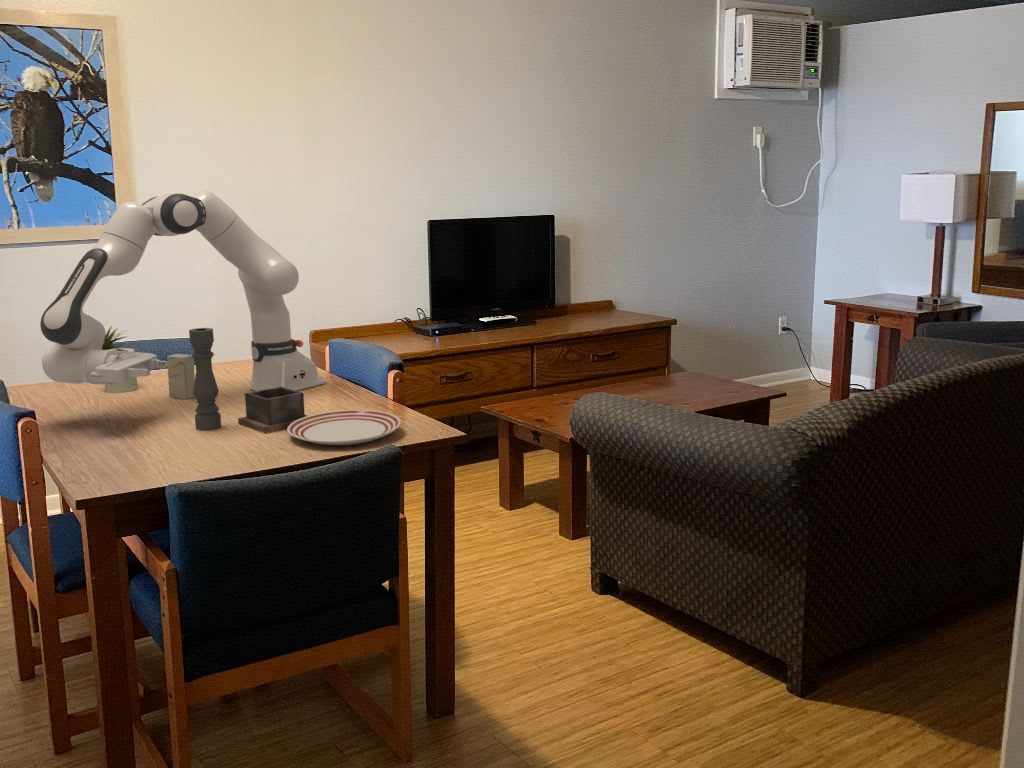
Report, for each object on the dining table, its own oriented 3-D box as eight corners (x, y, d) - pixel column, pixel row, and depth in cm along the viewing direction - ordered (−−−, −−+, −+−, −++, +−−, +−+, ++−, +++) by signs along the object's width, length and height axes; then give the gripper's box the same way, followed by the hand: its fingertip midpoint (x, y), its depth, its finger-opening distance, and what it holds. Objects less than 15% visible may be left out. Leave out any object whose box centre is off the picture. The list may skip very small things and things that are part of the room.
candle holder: (226, 425, 256) (219, 328, 251) (209, 431, 251) (202, 332, 245) (207, 423, 259) (200, 327, 253) (190, 429, 253) (182, 330, 248)
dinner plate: (354, 458, 228) (354, 444, 228) (263, 442, 241) (262, 429, 241) (423, 429, 252) (422, 417, 251) (336, 417, 265) (336, 404, 264)
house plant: (120, 382, 308) (115, 329, 304) (75, 382, 308) (69, 329, 304) (137, 372, 322) (133, 321, 318) (94, 372, 322) (89, 322, 318)
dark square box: (286, 414, 267) (284, 384, 265) (313, 422, 258) (311, 392, 256) (238, 423, 258) (236, 393, 256) (265, 433, 249) (263, 401, 247)
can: (138, 384, 304) (134, 345, 301) (138, 391, 296) (134, 350, 293) (105, 387, 301) (101, 347, 298) (104, 393, 292) (100, 353, 290)
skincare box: (169, 398, 287) (165, 356, 284) (179, 394, 291) (176, 353, 288) (186, 399, 284) (183, 357, 282) (197, 396, 288) (194, 354, 286)
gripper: (82, 362, 244) (135, 364, 242) (125, 348, 264) (175, 349, 262) (84, 388, 246) (137, 389, 244) (127, 371, 265) (177, 373, 263)
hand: (157, 368), depth 253 cm, fingers open, 8 cm apart
